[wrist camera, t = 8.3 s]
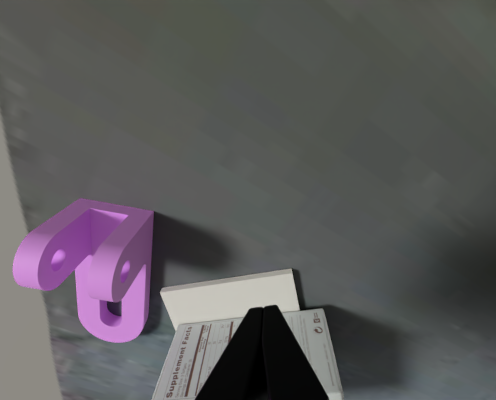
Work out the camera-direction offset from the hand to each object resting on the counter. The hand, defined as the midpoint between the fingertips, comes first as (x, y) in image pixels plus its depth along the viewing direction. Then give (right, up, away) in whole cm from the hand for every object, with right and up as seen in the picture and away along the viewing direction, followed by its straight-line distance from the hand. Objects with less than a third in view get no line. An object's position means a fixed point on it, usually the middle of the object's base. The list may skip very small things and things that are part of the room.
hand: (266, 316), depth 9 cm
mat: (-1, -9, +18) cm, 20 cm away
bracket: (-12, -3, +16) cm, 20 cm away
